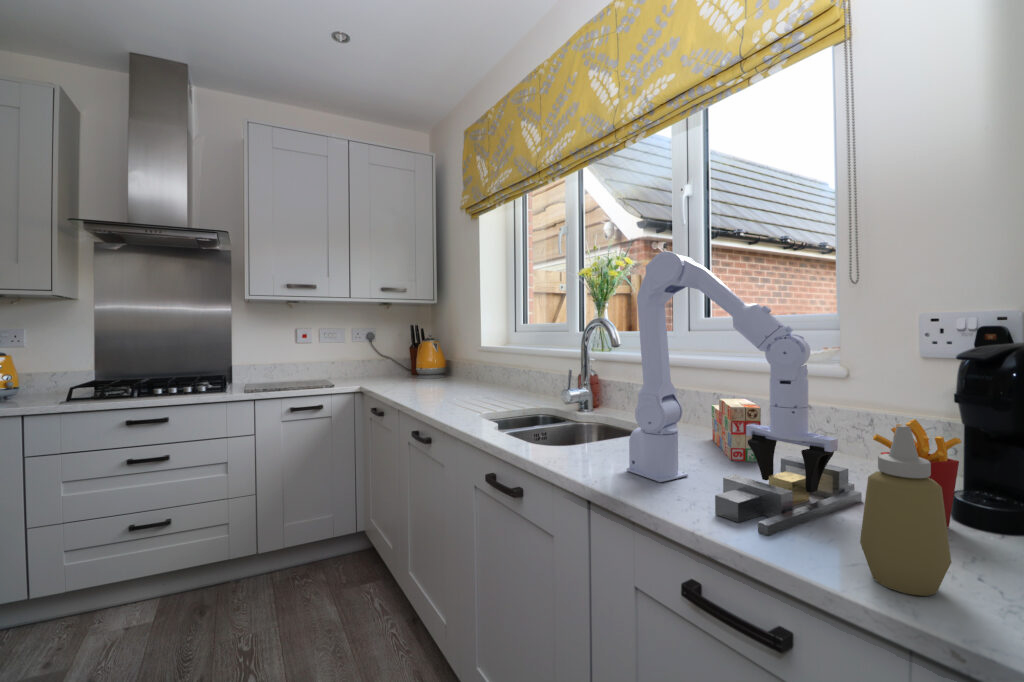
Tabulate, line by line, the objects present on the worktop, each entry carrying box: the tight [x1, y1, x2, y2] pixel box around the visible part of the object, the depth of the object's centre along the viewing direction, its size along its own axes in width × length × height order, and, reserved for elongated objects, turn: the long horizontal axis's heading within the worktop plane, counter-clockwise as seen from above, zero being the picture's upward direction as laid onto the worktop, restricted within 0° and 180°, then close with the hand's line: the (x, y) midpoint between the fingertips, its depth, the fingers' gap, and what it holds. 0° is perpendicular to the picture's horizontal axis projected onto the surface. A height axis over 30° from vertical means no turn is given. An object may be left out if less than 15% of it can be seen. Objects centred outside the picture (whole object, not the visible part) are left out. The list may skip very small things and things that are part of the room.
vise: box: [757, 455, 863, 537], centre depth 80 cm, size 12×28×5 cm, turn 120°
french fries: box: [872, 418, 962, 528], centre depth 73 cm, size 9×8×15 cm
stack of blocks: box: [711, 398, 762, 462], centre depth 116 cm, size 21×6×12 cm, turn 168°
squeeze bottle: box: [859, 425, 952, 597], centre depth 55 cm, size 8×8×18 cm
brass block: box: [768, 471, 810, 506], centre depth 82 cm, size 4×5×4 cm
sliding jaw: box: [714, 474, 794, 524], centre depth 77 cm, size 10×9×4 cm
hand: (788, 484), depth 82 cm, fingers open, 7 cm apart
